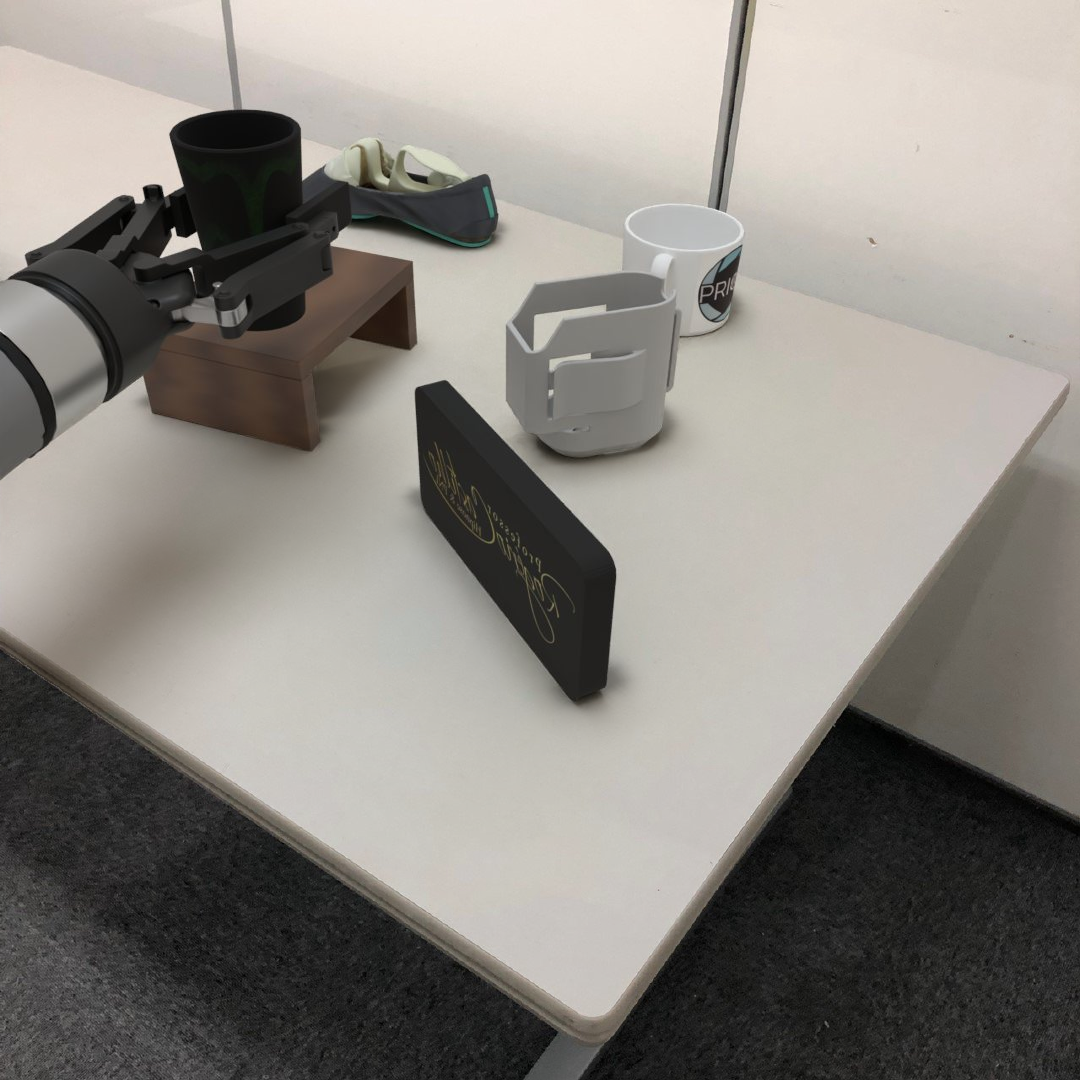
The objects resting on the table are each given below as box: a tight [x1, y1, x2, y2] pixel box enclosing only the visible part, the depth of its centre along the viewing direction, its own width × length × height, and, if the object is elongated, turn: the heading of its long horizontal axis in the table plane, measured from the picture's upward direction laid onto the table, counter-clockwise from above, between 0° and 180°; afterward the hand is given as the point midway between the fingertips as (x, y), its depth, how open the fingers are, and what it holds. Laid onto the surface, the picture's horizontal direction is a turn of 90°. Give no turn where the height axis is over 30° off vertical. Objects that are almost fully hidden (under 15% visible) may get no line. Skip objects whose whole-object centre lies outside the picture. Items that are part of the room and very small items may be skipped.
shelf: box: [142, 245, 418, 452], centre depth 84 cm, size 14×18×8 cm
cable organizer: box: [505, 270, 682, 459], centre depth 76 cm, size 7×12×12 cm, turn 110°
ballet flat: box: [302, 136, 500, 248], centre depth 109 cm, size 8×24×8 cm, turn 63°
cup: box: [168, 108, 306, 331], centre depth 67 cm, size 8×8×12 cm
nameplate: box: [414, 379, 617, 701], centre depth 63 cm, size 21×2×10 cm, turn 29°
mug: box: [621, 203, 746, 337], centre depth 93 cm, size 13×10×8 cm
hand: (289, 191), depth 70 cm, fingers closed on cup, 8 cm apart
